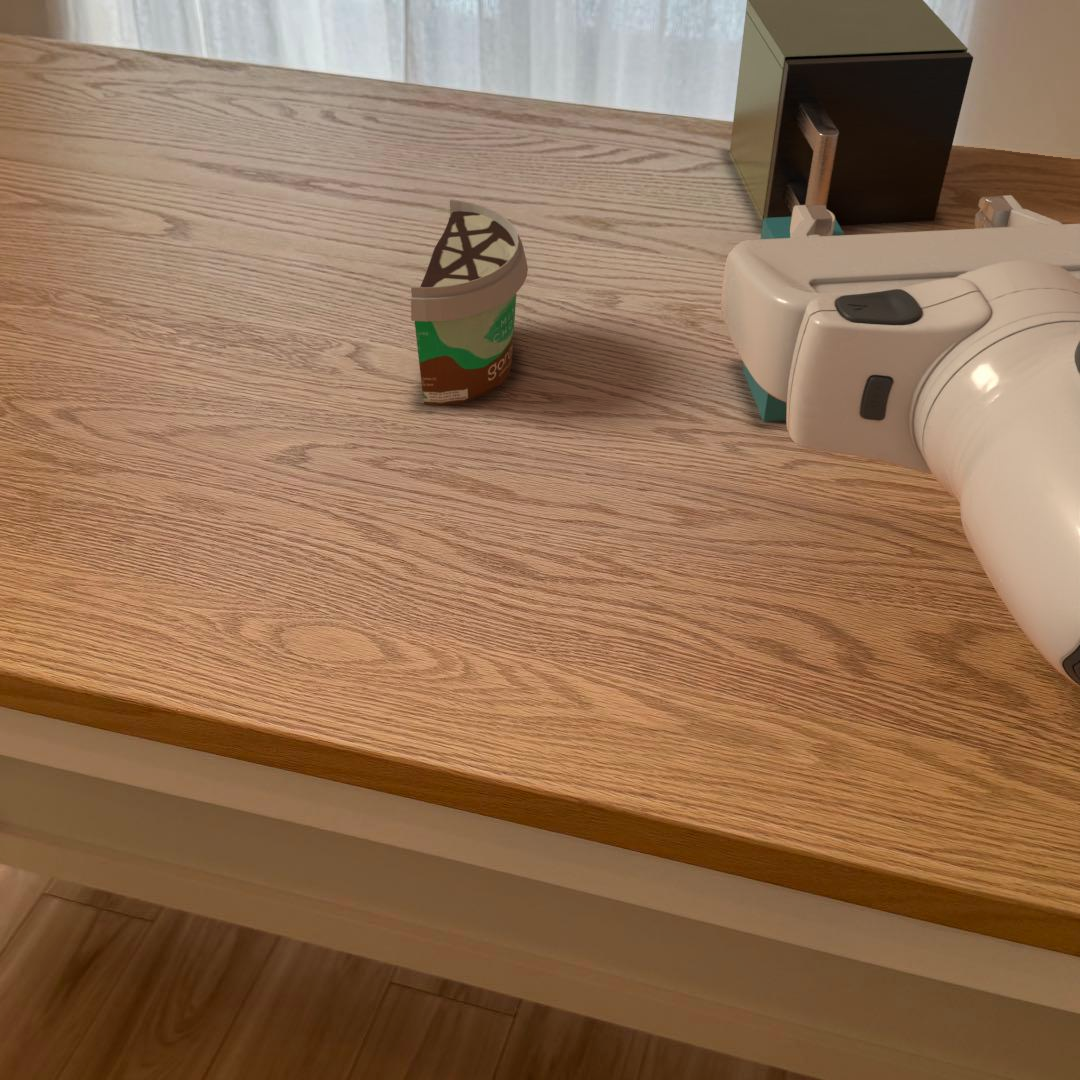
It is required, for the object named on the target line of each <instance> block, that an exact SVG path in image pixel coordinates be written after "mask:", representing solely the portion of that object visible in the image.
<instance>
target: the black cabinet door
mask: <svg viewBox="0 0 1080 1080" xmlns="http://www.w3.org/2000/svg"><path fill="white" fill-rule="evenodd" d="M973 61H974V56H973V55H972V53H970V52H969V51H967V52H964V53H940V54H916V55H892V56H868V57H844V58H820V59H796V60H786V61H785V67H784V74H783V82H782V89H781V96H780V103H779V111H778V118H777V125H776V132H775V140H774V147H773V154H772V161H771V169H770V176H769V183H768V190H767V198H766V205H765V212H764V218H775V217H792V212H793V208H794V206H797V205H825V206H826V209H827V210H829V211H830V212H832V213H833V214H834V216H835V219H836V220H837V222H838V224H839V226H840V227H845V226H862V225H863V226H865V225H878V224H879V225H882V224H899V223H900V224H901V223H902V224H903V223H920V222H921V223H922V222H934V221H935V218H936V216H937V211H938V206H939V203H940V198H941V194H942V190H943V185H944V181H945V179H946V173H947V169H948V166H949V160H950V156H951V152H952V147H953V144H954V139H955V136H956V131H957V127H958V123H959V119H960V116H961V111H962V106H963V102H964V98H965V94H966V89H967V85H968V81H969V78H970V74H971V69H972V65H973Z"/></svg>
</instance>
